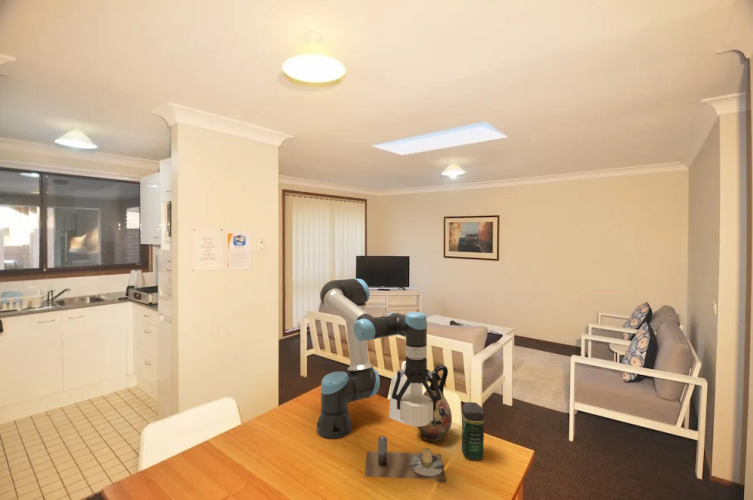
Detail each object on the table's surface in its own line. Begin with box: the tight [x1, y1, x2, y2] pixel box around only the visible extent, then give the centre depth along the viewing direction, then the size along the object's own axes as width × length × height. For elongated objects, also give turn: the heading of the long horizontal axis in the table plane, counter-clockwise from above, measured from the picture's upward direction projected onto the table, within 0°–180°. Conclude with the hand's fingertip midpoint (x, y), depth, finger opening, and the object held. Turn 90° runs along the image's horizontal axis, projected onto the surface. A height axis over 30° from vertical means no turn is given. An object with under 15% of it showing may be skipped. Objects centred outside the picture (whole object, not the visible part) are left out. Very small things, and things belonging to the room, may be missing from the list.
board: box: [364, 450, 447, 483], centre depth 124 cm, size 28×14×1 cm, turn 88°
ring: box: [402, 394, 431, 427], centre depth 123 cm, size 10×10×7 cm
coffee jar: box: [461, 401, 485, 461], centre depth 132 cm, size 10×8×19 cm
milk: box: [388, 360, 424, 427], centre depth 160 cm, size 12×12×26 cm
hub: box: [410, 447, 445, 477], centre depth 124 cm, size 12×12×6 cm
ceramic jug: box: [416, 364, 453, 442], centre depth 144 cm, size 17×15×30 cm
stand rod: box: [377, 435, 388, 467], centre depth 124 cm, size 3×3×10 cm
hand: (416, 418), depth 123 cm, fingers closed on ring, 10 cm apart
